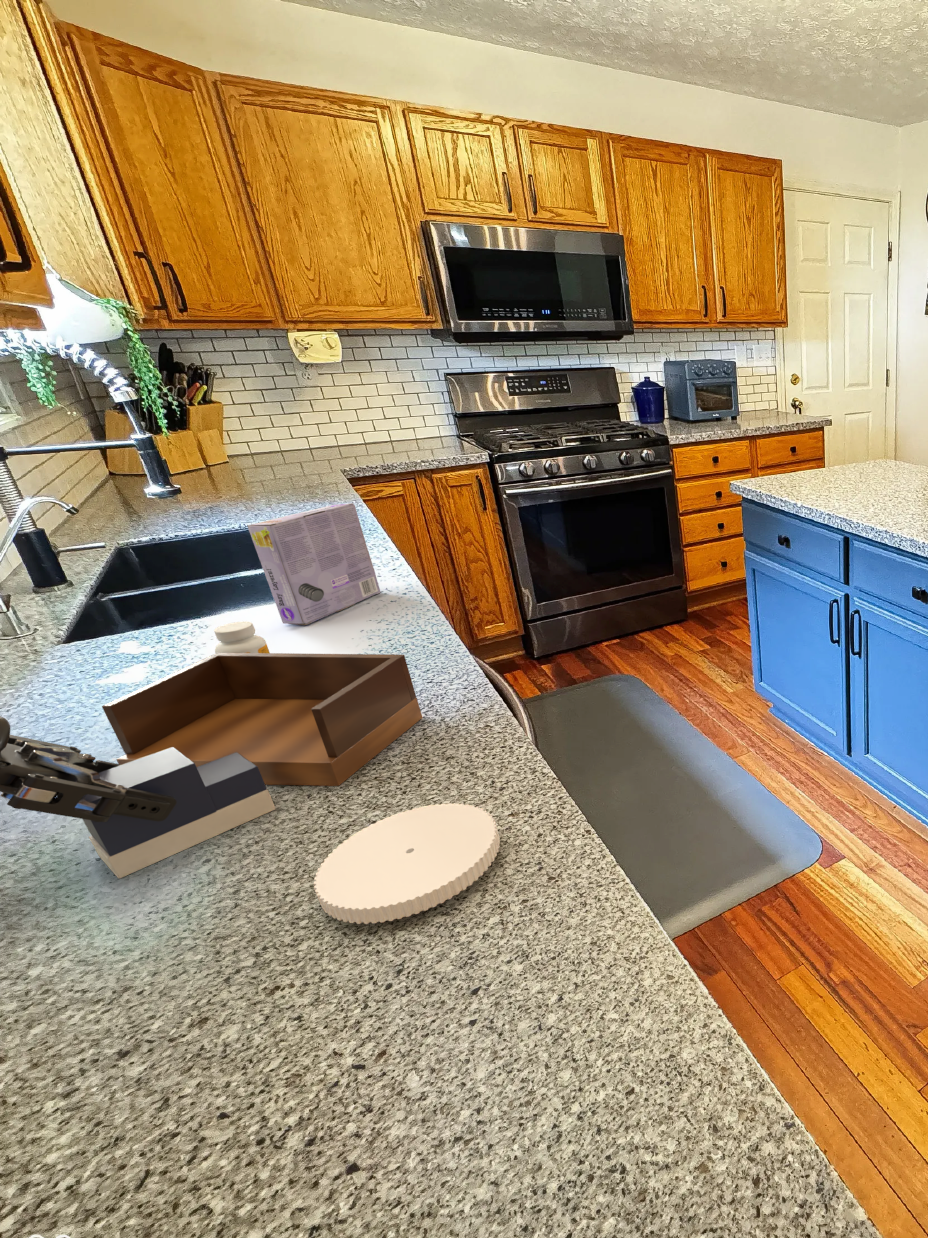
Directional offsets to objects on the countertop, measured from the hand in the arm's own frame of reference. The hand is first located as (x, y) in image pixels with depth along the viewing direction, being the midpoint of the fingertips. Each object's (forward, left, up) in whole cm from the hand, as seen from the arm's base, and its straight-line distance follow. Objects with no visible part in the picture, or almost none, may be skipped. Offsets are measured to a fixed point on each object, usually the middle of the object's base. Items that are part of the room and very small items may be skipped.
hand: (154, 795), depth 65 cm
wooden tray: (-2, +17, -5) cm, 18 cm away
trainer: (+1, +1, -5) cm, 5 cm away
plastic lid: (+27, -4, -5) cm, 27 cm away
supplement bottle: (-18, +31, -5) cm, 37 cm away
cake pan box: (-32, +64, -5) cm, 72 cm away
